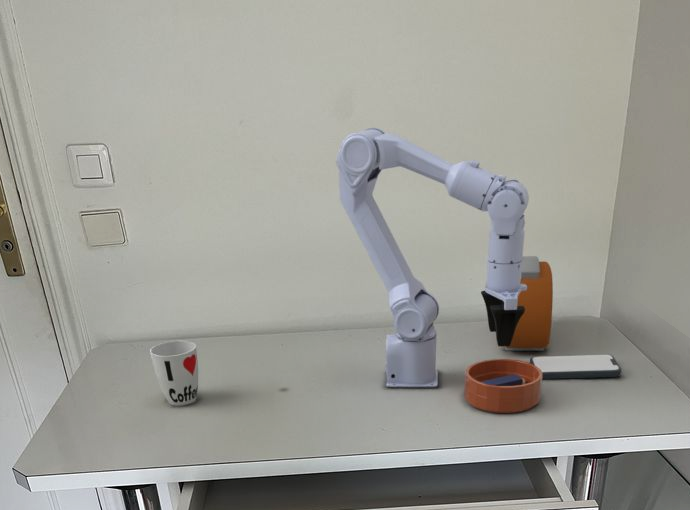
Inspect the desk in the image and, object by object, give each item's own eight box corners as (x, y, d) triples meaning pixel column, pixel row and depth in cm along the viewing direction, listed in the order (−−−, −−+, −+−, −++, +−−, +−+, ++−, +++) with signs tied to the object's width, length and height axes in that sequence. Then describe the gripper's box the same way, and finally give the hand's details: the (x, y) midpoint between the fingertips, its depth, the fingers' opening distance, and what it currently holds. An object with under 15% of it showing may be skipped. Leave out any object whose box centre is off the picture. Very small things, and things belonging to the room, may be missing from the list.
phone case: (534, 381, 137) (622, 378, 135) (535, 373, 136) (623, 370, 135) (528, 364, 144) (611, 361, 143) (529, 356, 143) (612, 353, 142)
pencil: (481, 403, 127) (482, 387, 126) (473, 398, 129) (474, 382, 128) (529, 392, 131) (530, 377, 129) (520, 387, 133) (522, 372, 131)
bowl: (465, 414, 125) (466, 387, 122) (463, 384, 136) (464, 358, 134) (543, 414, 124) (546, 387, 121) (535, 384, 135) (538, 358, 132)
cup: (166, 412, 130) (156, 359, 125) (155, 397, 136) (144, 346, 131) (210, 402, 133) (201, 350, 128) (197, 388, 140) (188, 337, 134)
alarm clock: (500, 320, 167) (504, 244, 158) (540, 320, 166) (547, 244, 157) (503, 356, 147) (508, 273, 139) (548, 357, 146) (557, 272, 137)
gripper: (538, 269, 116) (531, 351, 123) (519, 249, 129) (513, 324, 136) (494, 271, 116) (489, 353, 123) (479, 250, 129) (475, 325, 136)
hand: (499, 338), depth 130 cm, fingers open, 7 cm apart
